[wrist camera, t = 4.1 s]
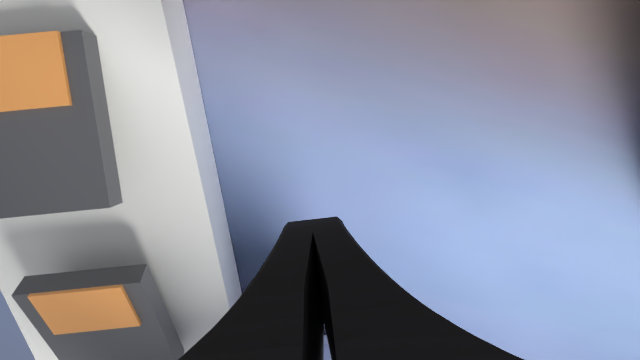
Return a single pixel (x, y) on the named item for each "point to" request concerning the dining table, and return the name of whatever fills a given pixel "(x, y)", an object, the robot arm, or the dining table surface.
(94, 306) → the rocker switch
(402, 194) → the dining table surface
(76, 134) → the outlet rocker
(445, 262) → the dining table surface
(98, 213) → the power strip
